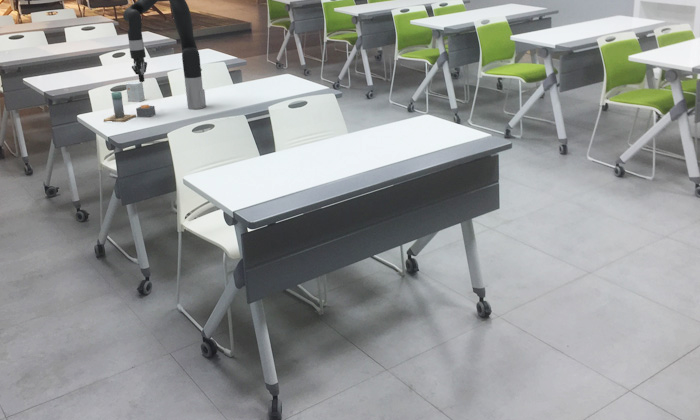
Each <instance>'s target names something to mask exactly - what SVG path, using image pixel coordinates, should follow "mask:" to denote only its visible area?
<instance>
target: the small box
mask: <svg viewBox="0 0 700 420" xmlns="http://www.w3.org/2000/svg"><path fill="white" fill-rule="evenodd" d="M125 88H126V95H127V100H128V102H139V103H140V102H142V101H144V100H146V98H145V91H144V85H143V82H140V81H139V82H138V81H130V82H127V83H125Z"/></svg>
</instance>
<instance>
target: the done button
mask: <svg viewBox="0 0 700 420" xmlns="http://www.w3.org/2000/svg"><path fill="white" fill-rule="evenodd" d="M149 106H150V105H149V104H142V105H140V107H141V108H149Z"/></svg>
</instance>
